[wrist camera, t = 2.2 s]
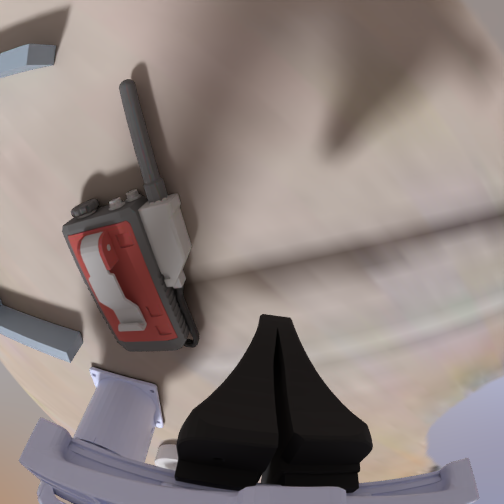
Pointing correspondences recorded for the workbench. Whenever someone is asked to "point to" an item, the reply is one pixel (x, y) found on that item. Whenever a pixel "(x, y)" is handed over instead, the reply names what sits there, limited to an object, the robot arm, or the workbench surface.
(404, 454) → the workbench surface
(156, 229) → the walkie-talkie
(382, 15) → the workbench surface
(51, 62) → the centring jig
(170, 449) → the wall hook
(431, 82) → the workbench surface
